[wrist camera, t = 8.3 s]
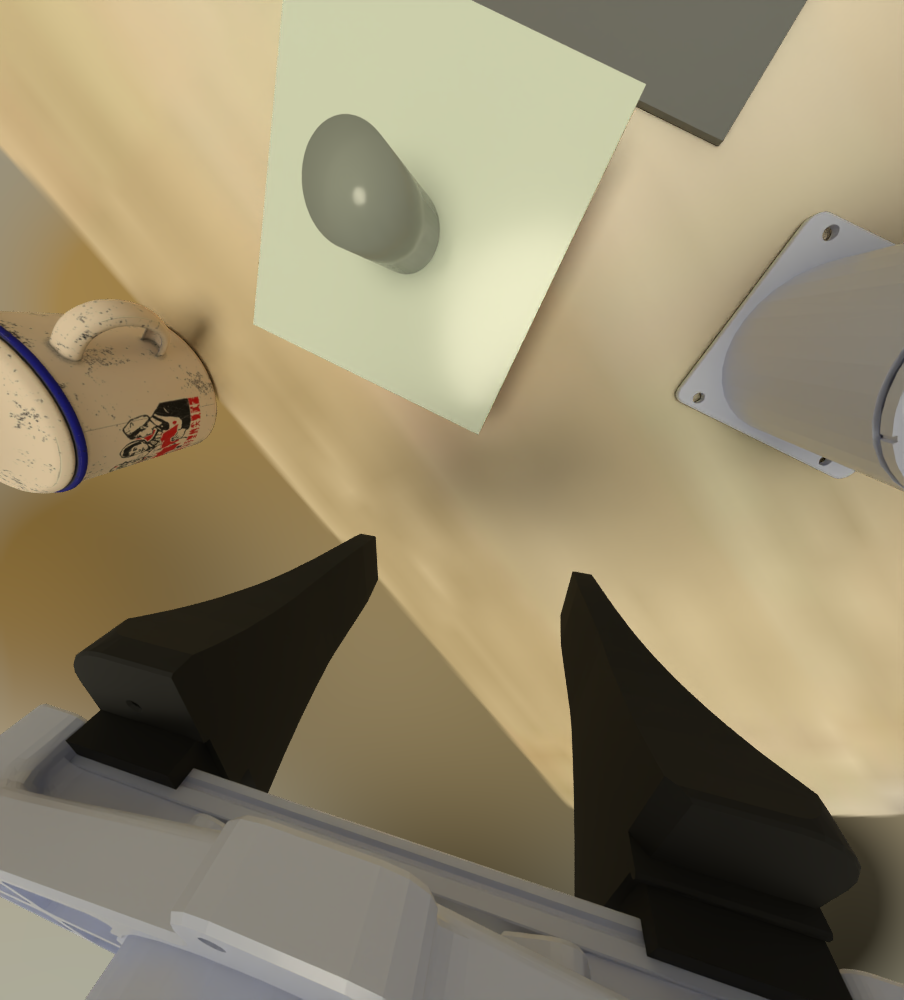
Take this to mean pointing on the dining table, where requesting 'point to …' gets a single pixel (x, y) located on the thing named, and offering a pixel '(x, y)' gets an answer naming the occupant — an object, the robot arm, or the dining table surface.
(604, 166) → the lid
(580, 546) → the dining table surface
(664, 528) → the dining table surface
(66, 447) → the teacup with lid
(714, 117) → the mat
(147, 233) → the dining table surface
